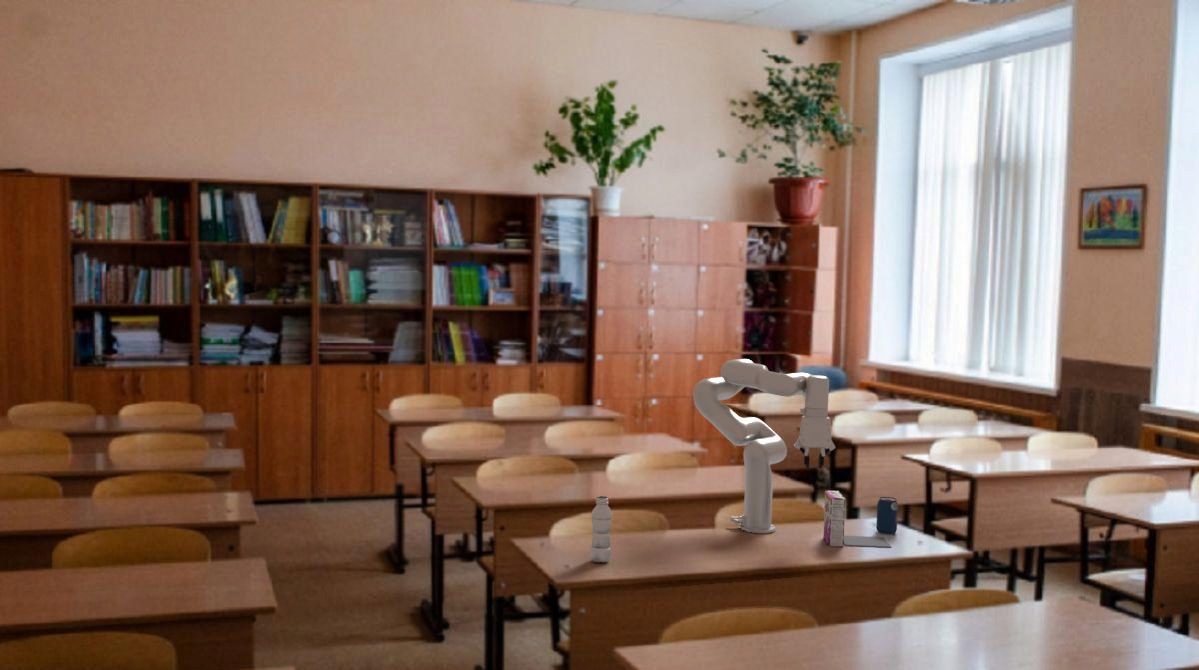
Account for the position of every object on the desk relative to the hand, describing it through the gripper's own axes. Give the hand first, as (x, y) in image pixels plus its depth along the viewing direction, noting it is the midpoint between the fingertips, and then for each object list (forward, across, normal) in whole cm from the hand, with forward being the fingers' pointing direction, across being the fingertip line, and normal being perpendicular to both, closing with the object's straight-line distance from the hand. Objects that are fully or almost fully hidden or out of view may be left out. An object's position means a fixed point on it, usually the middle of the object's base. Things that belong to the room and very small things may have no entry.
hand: (813, 466), depth 355 cm
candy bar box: (+25, +8, 0) cm, 27 cm away
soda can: (+25, +28, +16) cm, 41 cm away
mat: (+25, +18, +2) cm, 31 cm away
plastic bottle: (+25, -68, -34) cm, 81 cm away
